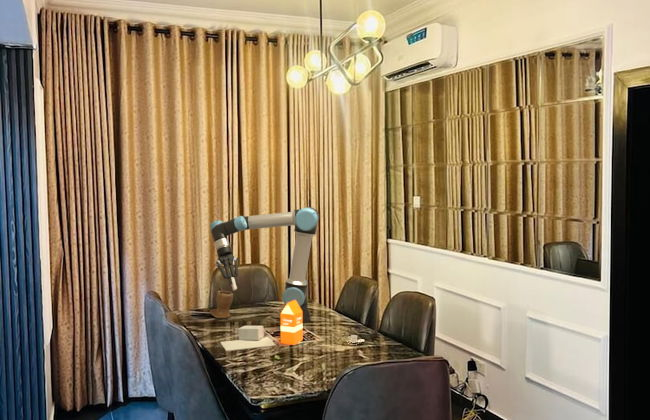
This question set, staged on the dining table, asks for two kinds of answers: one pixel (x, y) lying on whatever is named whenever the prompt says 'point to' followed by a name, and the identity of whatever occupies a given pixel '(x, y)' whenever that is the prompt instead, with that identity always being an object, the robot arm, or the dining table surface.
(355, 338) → the teacup and saucer
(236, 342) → the mat
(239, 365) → the dining table surface
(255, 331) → the small box
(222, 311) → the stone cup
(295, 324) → the orange juice
